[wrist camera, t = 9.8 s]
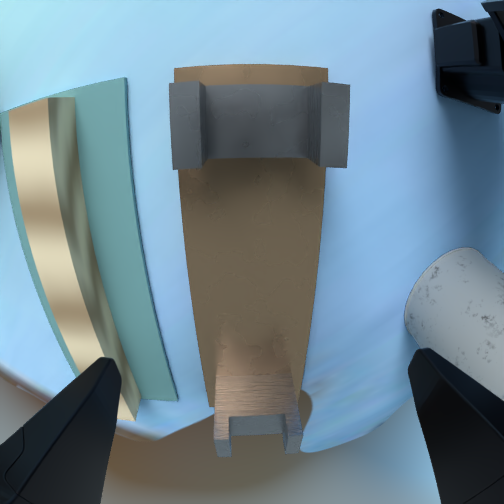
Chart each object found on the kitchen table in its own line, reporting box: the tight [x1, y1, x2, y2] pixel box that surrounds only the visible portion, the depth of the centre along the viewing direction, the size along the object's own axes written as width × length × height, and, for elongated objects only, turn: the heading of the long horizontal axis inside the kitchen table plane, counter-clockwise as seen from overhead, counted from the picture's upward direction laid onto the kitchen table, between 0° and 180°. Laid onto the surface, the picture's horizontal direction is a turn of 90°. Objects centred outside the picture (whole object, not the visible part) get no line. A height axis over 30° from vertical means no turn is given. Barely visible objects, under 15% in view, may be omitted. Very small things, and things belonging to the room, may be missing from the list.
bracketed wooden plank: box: [169, 64, 350, 457], centre depth 17 cm, size 26×8×7 cm, turn 1°
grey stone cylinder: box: [404, 247, 504, 401], centre depth 17 cm, size 10×10×12 cm
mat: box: [0, 77, 178, 401], centre depth 19 cm, size 10×26×1 cm, turn 0°
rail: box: [9, 97, 141, 421], centre depth 18 cm, size 25×3×3 cm, turn 0°
